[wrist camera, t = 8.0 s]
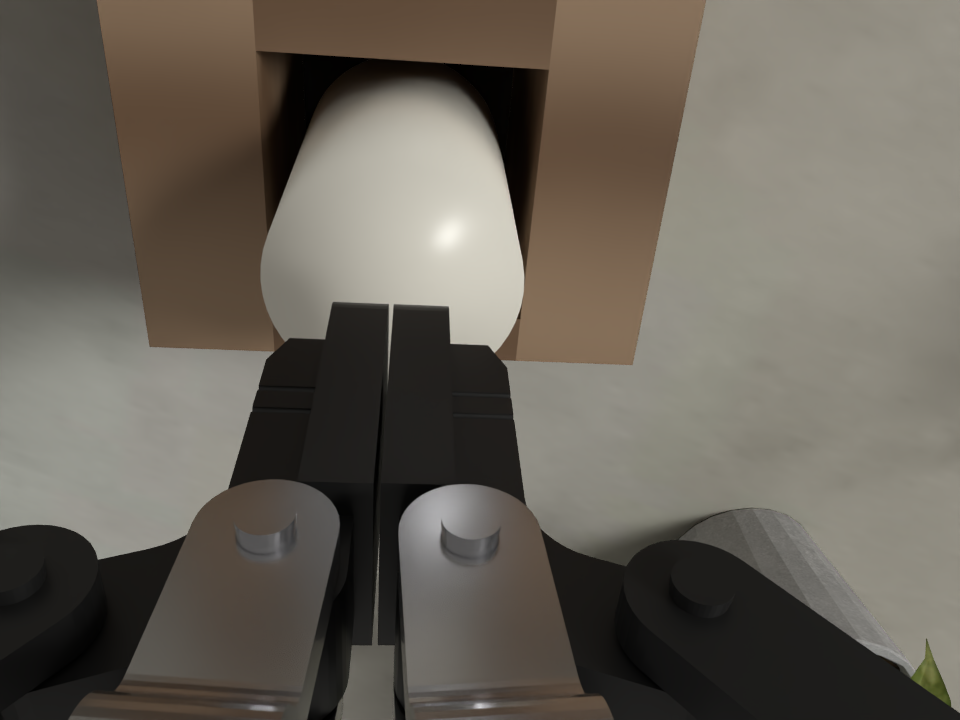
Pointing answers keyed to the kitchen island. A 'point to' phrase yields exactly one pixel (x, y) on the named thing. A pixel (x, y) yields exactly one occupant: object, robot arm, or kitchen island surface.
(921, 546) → the kitchen island surface
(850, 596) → the house plant
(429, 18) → the wooden compartment box
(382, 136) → the white piece
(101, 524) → the kitchen island surface
